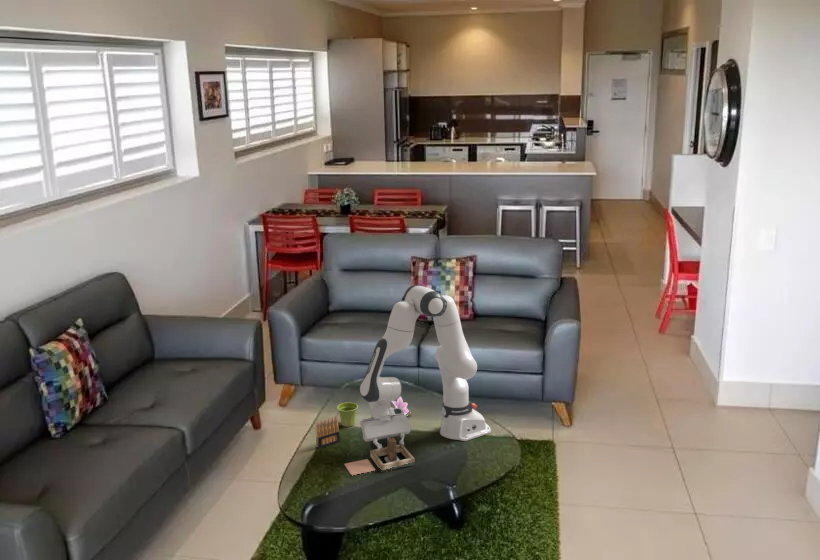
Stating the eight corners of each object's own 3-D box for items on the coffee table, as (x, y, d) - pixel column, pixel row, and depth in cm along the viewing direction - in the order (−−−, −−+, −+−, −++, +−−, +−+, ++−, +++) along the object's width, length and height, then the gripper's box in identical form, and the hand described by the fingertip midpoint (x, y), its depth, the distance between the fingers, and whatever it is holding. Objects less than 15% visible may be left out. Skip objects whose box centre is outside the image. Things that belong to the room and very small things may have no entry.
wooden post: (395, 457, 308) (395, 436, 305) (400, 462, 303) (399, 441, 301) (384, 459, 306) (383, 438, 304) (388, 465, 301) (388, 443, 299)
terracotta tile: (367, 460, 306) (367, 458, 306) (375, 471, 297) (375, 469, 297) (344, 464, 302) (344, 463, 302) (351, 476, 293) (351, 474, 293)
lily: (390, 426, 339) (399, 410, 335) (379, 408, 347) (388, 393, 343) (410, 426, 346) (419, 411, 343) (399, 409, 354) (408, 394, 351)
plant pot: (357, 428, 335) (357, 410, 332) (336, 428, 335) (336, 411, 333) (359, 419, 344) (358, 402, 342) (339, 419, 344) (338, 402, 342)
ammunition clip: (318, 449, 316) (317, 423, 313) (316, 447, 318) (314, 421, 315) (340, 442, 322) (339, 416, 319) (338, 440, 324) (336, 415, 321)
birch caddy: (402, 450, 313) (401, 443, 313) (414, 465, 301) (414, 458, 300) (370, 456, 308) (370, 450, 308) (382, 472, 296) (381, 465, 295)
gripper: (360, 417, 303) (368, 449, 297) (406, 408, 311) (416, 439, 304) (357, 422, 309) (365, 454, 302) (403, 414, 316) (412, 445, 309)
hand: (391, 447), depth 303 cm, fingers open, 8 cm apart
